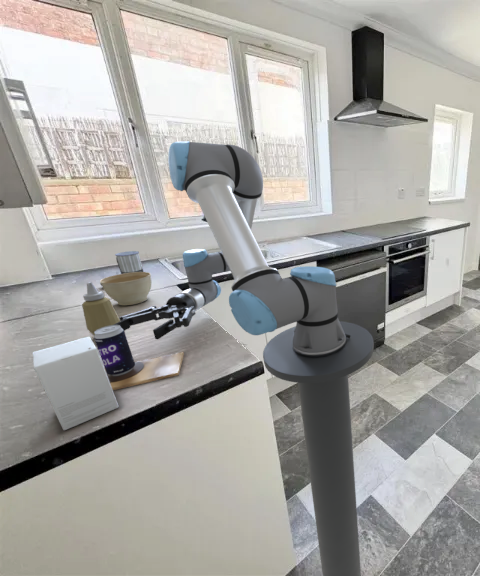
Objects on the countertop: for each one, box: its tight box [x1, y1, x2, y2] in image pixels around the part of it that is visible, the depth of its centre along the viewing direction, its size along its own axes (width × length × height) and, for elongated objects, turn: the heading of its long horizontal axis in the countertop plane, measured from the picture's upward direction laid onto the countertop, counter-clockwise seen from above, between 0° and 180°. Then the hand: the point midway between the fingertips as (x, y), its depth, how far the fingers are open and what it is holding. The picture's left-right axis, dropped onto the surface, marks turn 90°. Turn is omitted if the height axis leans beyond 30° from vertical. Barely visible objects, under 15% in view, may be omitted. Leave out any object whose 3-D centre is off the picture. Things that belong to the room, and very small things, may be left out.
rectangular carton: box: [32, 335, 119, 431], centre depth 65 cm, size 9×9×15 cm
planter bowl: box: [99, 271, 152, 306], centre depth 127 cm, size 16×16×11 cm
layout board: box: [104, 351, 185, 391], centre depth 79 cm, size 20×12×1 cm, turn 116°
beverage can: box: [93, 325, 136, 376], centre depth 77 cm, size 6×6×12 cm
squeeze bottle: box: [81, 281, 120, 337], centre depth 97 cm, size 8×8×18 cm
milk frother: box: [99, 250, 144, 287], centre depth 149 cm, size 14×16×15 cm
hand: (130, 334), depth 81 cm, fingers open, 13 cm apart
